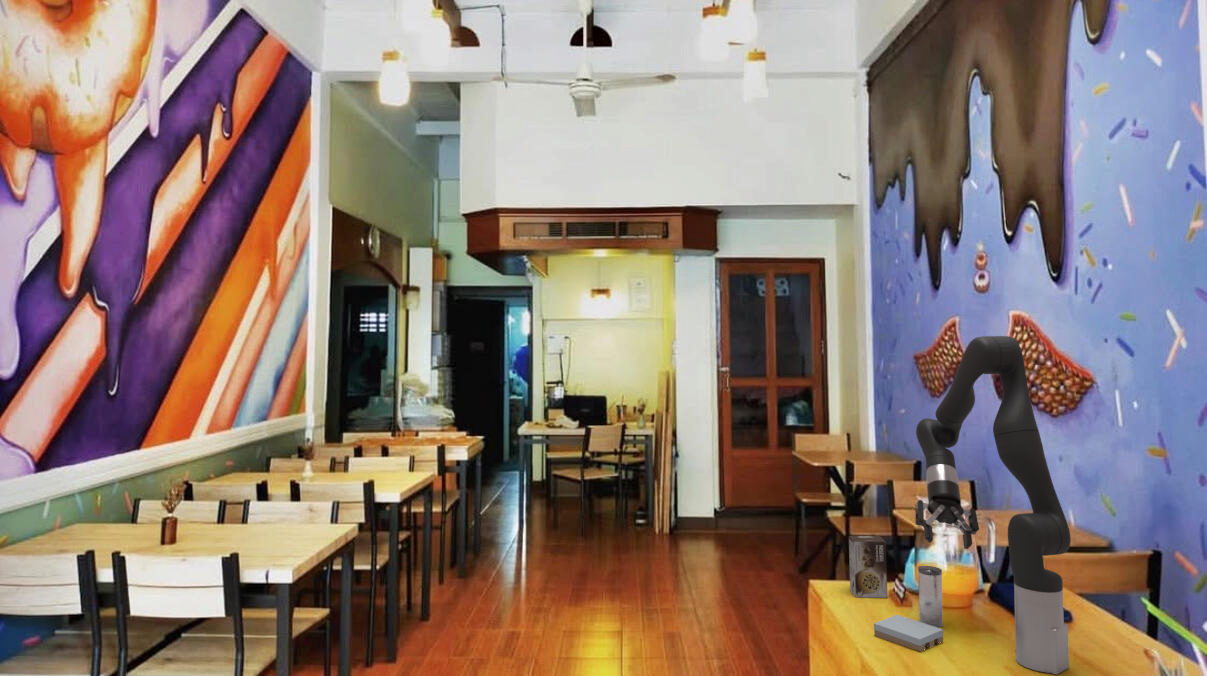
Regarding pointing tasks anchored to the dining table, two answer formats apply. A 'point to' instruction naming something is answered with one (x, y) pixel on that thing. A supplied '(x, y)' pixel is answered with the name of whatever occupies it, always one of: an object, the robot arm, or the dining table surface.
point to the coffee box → (868, 566)
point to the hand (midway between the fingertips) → (948, 544)
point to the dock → (908, 632)
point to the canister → (930, 596)
